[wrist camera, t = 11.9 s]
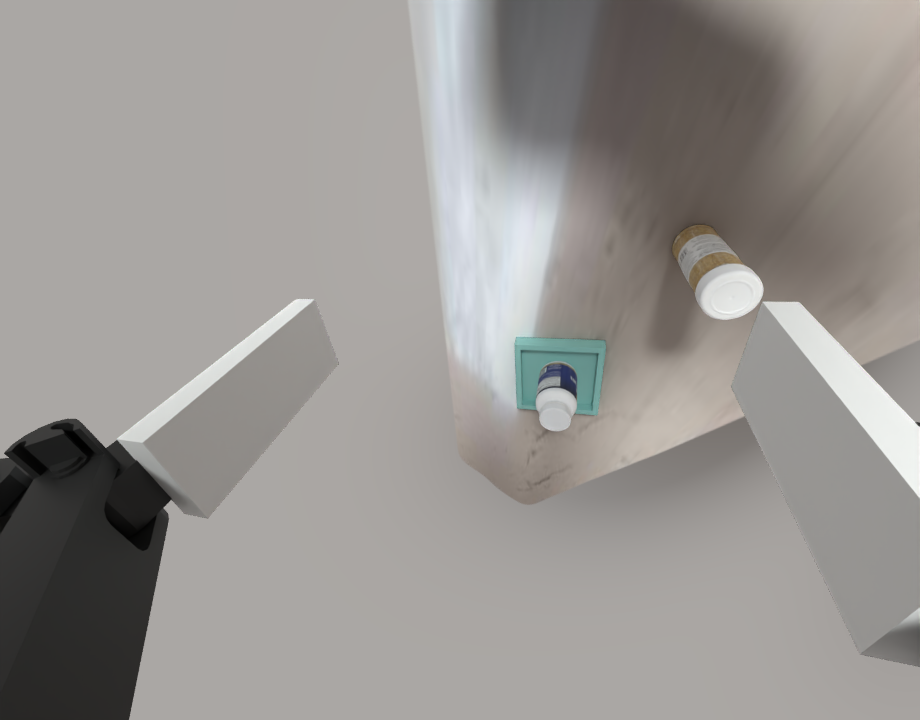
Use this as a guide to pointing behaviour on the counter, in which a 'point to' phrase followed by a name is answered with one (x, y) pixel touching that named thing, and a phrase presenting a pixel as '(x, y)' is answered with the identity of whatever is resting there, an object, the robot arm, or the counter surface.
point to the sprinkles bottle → (716, 274)
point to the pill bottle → (556, 395)
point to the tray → (572, 351)
